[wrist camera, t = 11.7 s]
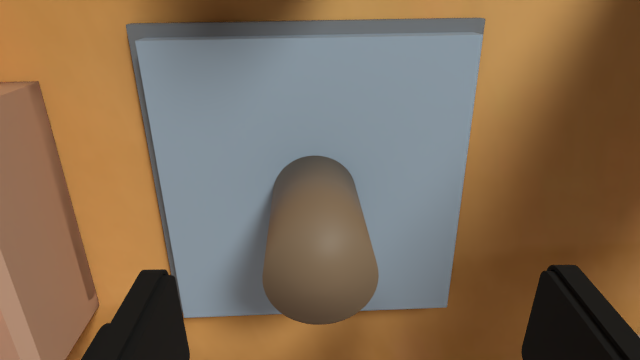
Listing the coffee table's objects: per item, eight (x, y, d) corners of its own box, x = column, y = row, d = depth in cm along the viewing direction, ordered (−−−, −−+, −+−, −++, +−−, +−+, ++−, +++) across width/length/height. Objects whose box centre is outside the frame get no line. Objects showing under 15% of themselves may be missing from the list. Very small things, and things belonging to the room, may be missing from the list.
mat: (479, 17, 18) (485, 18, 17) (444, 294, 24) (447, 302, 23) (131, 23, 17) (126, 24, 17) (181, 304, 23) (178, 312, 23)
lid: (473, 31, 18) (573, 59, 11) (440, 294, 23) (495, 414, 16) (143, 37, 17) (51, 70, 11) (188, 304, 22) (144, 431, 16)
